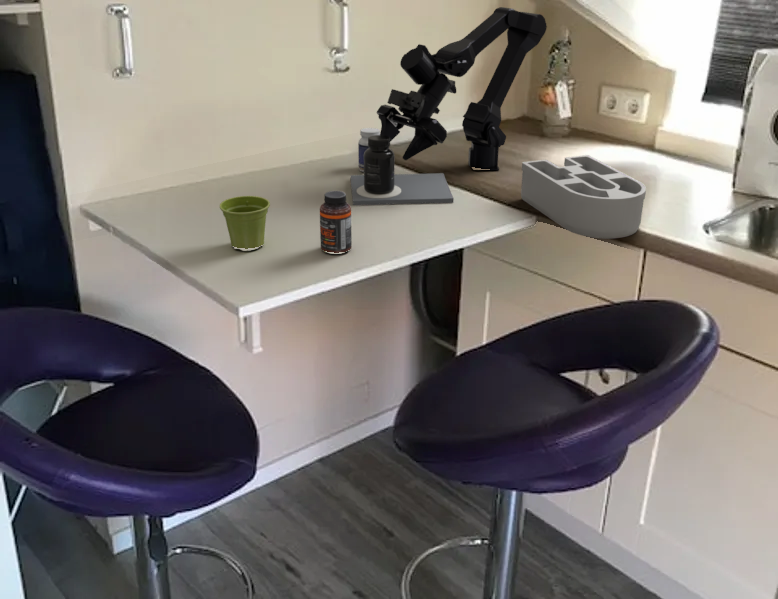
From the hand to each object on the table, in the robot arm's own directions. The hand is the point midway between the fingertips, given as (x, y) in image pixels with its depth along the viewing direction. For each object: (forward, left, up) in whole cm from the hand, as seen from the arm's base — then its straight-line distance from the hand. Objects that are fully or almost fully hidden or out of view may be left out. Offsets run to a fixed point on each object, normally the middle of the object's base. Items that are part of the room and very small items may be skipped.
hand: (390, 154), depth 191 cm
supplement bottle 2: (+3, +2, -8) cm, 8 cm away
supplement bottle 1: (+13, +33, -9) cm, 37 cm away
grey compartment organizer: (-40, +18, -9) cm, 44 cm away
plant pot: (+30, +30, -9) cm, 43 cm away
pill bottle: (+4, -17, -9) cm, 20 cm away
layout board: (-2, -1, -9) cm, 9 cm away
